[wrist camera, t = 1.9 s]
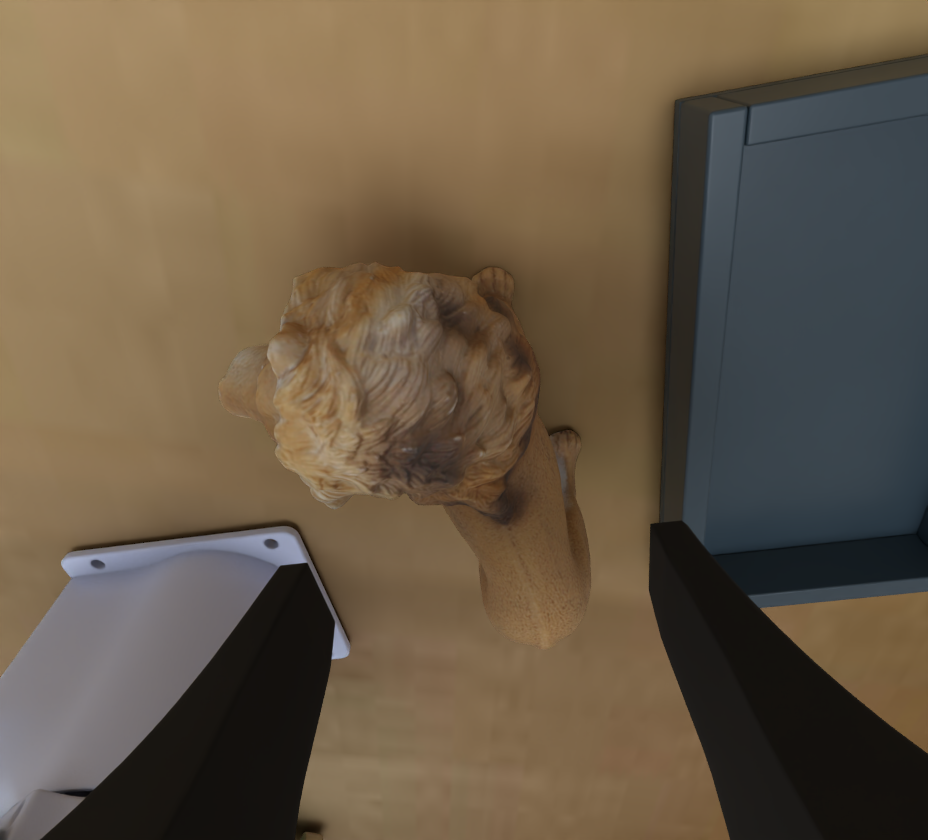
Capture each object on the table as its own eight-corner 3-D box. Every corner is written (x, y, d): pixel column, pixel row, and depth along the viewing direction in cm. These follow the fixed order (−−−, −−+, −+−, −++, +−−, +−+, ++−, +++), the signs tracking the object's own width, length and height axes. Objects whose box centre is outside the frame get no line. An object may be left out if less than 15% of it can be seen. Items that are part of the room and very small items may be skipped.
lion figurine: (277, 243, 16) (106, 438, 8) (443, 135, 14) (417, 254, 7) (522, 562, 23) (549, 820, 15) (650, 512, 21) (748, 773, 14)
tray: (657, 566, 23) (675, 617, 21) (674, 99, 14) (709, 111, 12) (925, 537, 22) (971, 588, 20) (1139, 14, 13) (1263, 12, 11)
